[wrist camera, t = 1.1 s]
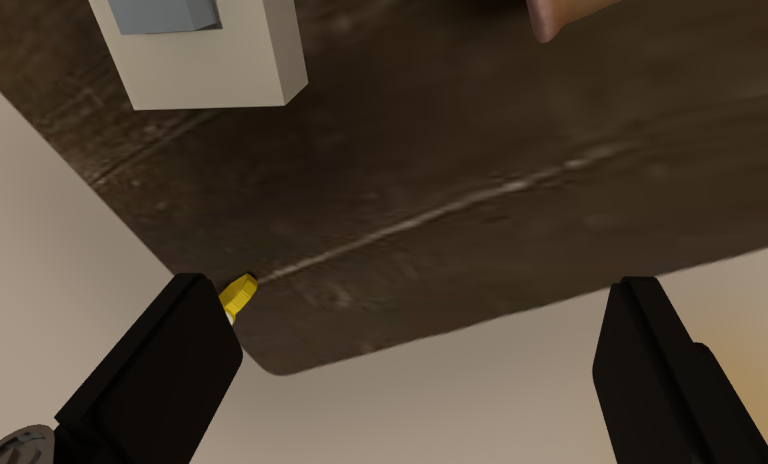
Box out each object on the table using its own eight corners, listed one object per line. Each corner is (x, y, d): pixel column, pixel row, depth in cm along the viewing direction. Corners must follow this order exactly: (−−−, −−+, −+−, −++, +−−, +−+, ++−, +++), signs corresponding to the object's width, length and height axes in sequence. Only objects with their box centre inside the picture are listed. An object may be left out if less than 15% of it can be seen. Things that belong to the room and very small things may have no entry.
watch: (251, 262, 47) (229, 297, 42) (269, 278, 48) (249, 315, 43) (217, 285, 50) (193, 321, 45) (235, 300, 51) (213, 337, 46)
